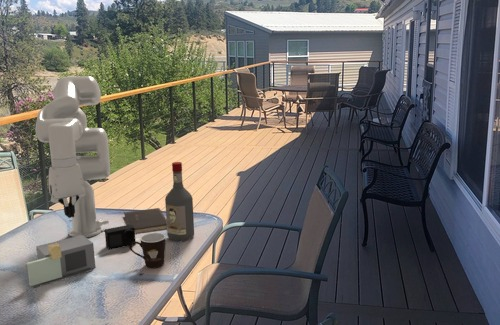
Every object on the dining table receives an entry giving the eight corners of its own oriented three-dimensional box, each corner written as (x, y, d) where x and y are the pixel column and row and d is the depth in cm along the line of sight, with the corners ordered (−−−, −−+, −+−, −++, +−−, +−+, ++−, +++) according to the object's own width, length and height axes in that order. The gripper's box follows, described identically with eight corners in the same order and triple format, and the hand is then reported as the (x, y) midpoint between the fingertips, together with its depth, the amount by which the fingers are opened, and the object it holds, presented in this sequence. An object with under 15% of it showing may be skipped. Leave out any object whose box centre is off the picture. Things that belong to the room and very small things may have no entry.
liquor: (178, 231, 214) (174, 159, 207) (197, 235, 210) (193, 161, 203) (164, 239, 206) (159, 164, 199) (183, 243, 202) (179, 166, 195)
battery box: (84, 258, 190) (82, 234, 188) (97, 269, 181) (95, 244, 179) (23, 275, 177) (20, 250, 175) (34, 287, 168) (31, 261, 166)
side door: (60, 275, 175) (57, 242, 172) (64, 278, 172) (60, 245, 170) (29, 284, 169) (25, 250, 166) (32, 288, 166) (27, 253, 164)
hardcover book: (131, 235, 213) (130, 229, 213) (124, 217, 234) (123, 212, 234) (170, 229, 218) (170, 224, 218) (160, 212, 239) (159, 207, 239)
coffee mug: (171, 261, 186) (170, 234, 184) (159, 271, 178) (158, 243, 176) (142, 257, 190) (140, 231, 188) (129, 267, 182) (127, 239, 180)
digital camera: (109, 251, 196) (107, 233, 194) (105, 246, 201) (104, 229, 199) (136, 245, 201) (135, 228, 199) (132, 241, 205) (131, 224, 204)
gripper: (82, 155, 174) (88, 208, 179) (36, 163, 166) (43, 218, 170) (91, 160, 169) (96, 214, 174) (44, 168, 160) (50, 225, 165)
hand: (70, 216), depth 172 cm, fingers closed
